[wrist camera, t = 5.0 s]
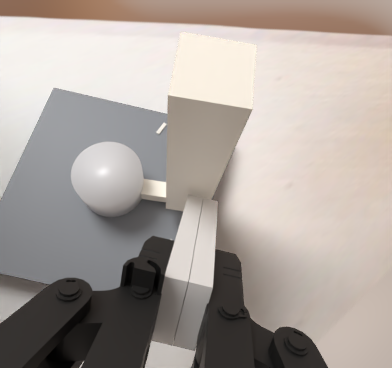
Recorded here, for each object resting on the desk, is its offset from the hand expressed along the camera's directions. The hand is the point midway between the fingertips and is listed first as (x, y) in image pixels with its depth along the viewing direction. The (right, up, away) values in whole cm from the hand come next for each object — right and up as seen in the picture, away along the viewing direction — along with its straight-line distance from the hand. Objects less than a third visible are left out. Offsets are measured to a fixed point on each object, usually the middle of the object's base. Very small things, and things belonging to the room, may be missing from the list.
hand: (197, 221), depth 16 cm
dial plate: (-6, +1, +6) cm, 8 cm away
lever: (-3, +1, +4) cm, 6 cm away
